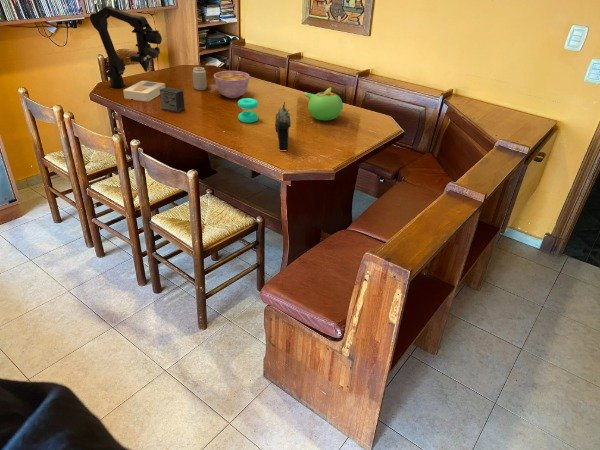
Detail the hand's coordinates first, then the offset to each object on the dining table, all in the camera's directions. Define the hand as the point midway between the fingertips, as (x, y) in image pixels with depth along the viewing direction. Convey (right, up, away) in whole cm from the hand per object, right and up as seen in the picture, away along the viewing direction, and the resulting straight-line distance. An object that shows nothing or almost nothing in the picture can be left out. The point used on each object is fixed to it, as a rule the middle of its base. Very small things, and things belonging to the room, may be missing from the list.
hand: (146, 71), depth 249 cm
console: (0, -13, 0) cm, 13 cm away
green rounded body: (+99, -31, -17) cm, 104 cm away
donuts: (+60, -33, -24) cm, 72 cm away
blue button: (+1, -9, +4) cm, 10 cm away
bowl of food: (+47, -12, +7) cm, 49 cm away
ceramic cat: (+78, -49, -46) cm, 103 cm away
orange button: (-2, -14, -4) cm, 15 cm away
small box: (+20, -26, -17) cm, 37 cm away
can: (+27, -5, +15) cm, 31 cm away
